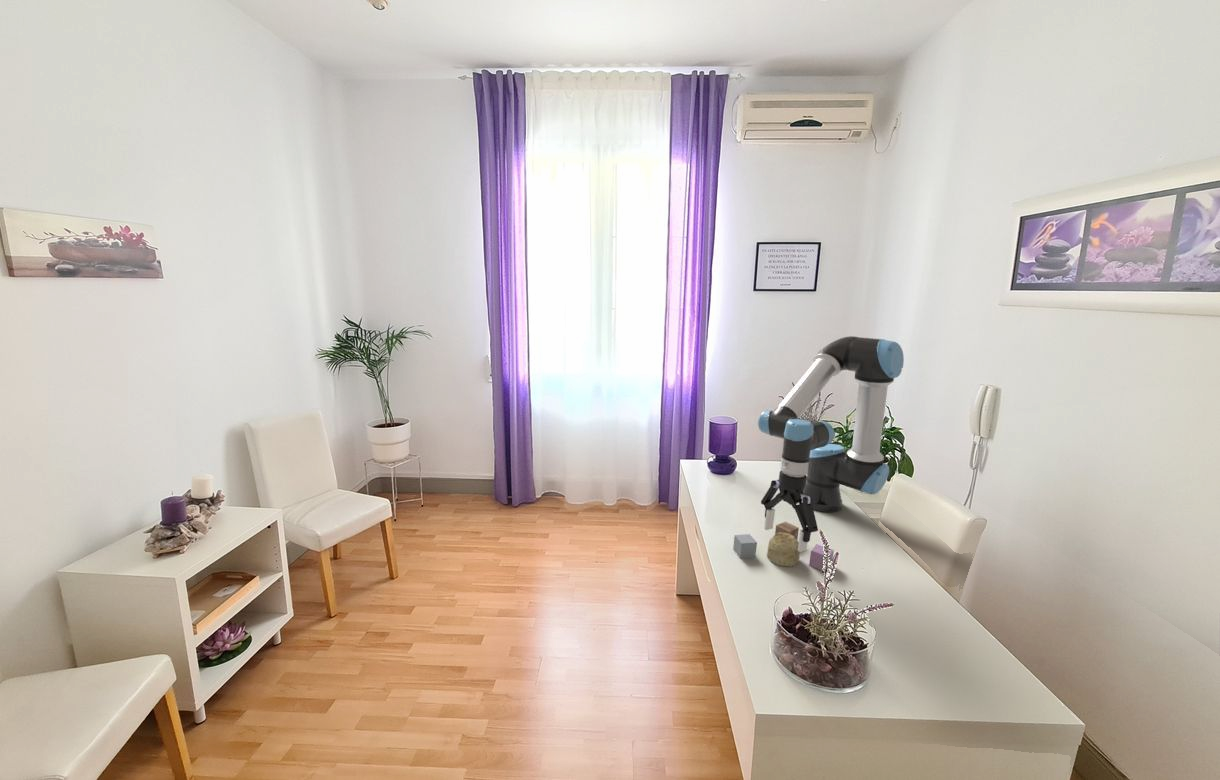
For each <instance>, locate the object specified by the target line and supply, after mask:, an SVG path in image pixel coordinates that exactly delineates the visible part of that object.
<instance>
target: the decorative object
mask: <svg viewBox="0 0 1220 780" xmlns="http://www.w3.org/2000/svg"><path fill="white" fill-rule="evenodd" d="M798 544H799V540H798V539H796V538H795V537H794V536H793V535H791V534H788V533H782V532H779V533H776V534H775V533H774V535H773V536H772V537H771V538H770V539H769V541H768V545H767V552H766V558H767V559H768V560H769V561H770V562H772V563H773V564H774V565H778V566H781V567H786V568H791V567H793V566H796V565H797V564H798V562H799V560H800V555H801V552H799V551H798ZM795 564H796V565H795Z"/></svg>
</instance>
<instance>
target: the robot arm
mask: <svg viewBox="0 0 1220 780" xmlns="http://www.w3.org/2000/svg"><path fill="white" fill-rule="evenodd" d="M812 361H813V363H812V365H811V366H810V367H809V368H808V369H807V370H806V372H805V373H804V374H803V375H802V377H801V378H800V379H799V380H798V382H797V383H796V384H795V385H794V387H792V389H791V390H790V391H789V392H788V394H787V395H786V396H785V397H784V398H783V399H782V401H781V402H780V403H779V405H778V406H776V408H775V409H774V410H773V411H772V410H764V411H763V412H761V414H760V415H759V417H758V421H757V425H758V426H757V427H758V430H760V432H761V433H763V434H766V435H769V436H771V437H776V438H779V439H783V440H782V443H783V444H782V453H781V457H780V458H781V461H780V471H779V475H778V479H774V480H771V482H770V486H769V488H768V489H767V491H766V492H765V494H764V496H763V498H762V499H761V501H760V504H761V505H763V506H764V508H765V511H764V518H765V522H764V531H765V530H766V531H769V530H773V529H774V523H775V522H774V521H775V513H776V509H775V507H776V506H777V505H778V504H779V503H780V502H782V501H783V502H786V503H787V504H789V505H790V506H791V507H792V508H793V510H794V511H795V514H796V516H797V518H798V520H799V523H800V525H801V528H802V529H800V531H799V537H798V542H799V544H798V551H799V552H800V553H801V552H804V551H807V550H808V542H810V540H811V535H812V533H815V532H818V531H819V528H818V524H817V519H816V514H815V511H818V512H823V513H825V512H826V513H835V512H839V511H840V510H841V509H842V507H843V499H842V495H841V489H840V485H842V486H844V487H846V488H847V487H848V488H850V489H853V490H855V491H858V492H861V493H864V494H868V495H876V494H878V493H879V492H880V491H882V489H883V488H884V486H885V484H886V482H887V480H888V477H889V474H890V466H889V465H888V464H887V463H884V460H885V457H884V455H883V454H882V453H881V452H880V450H881V444H882V443H881V442H882V435H883V426H884V418H885V411H886V403H887V393H888V387H889V386H890V385H891V384H892V383H894V381H895V379H896V378H898V377H899V376H900V375H901V373H902V371H903V370H902V369H904V351H903V349H902V346H901V345H900V344H899V343H898V342H896V341H892V340H887V339H882V338H874V337H873V338H871V337H870V338H869V337H859V336H854V335H853V336H851V335H850V336H844V337H840V338H838V339H836V340H834V341H831V342H830V343H828V344H827V345H826V346H824V347H823V348H822V349H820V350H819V351H818V352H817V353H816V354H815V356H814V357H813V360H812ZM842 371H850V372H851V371H852V372H854V380H855V381H856V382H857V383H858V390H857V400H856V408H855V418H854V427H853V436H852V445H851V448H849V449H847V451H846V448H845V447H844V446H843V445H840V444H835V443H832V442H833V441H834V439H835V435H836V434H835V430H834V428H833V426H832V425H831V423H829V422H827V421H825V420H816V421H811V420H806V419H802V418H801V417H802V415H804V413H805V411H806V410H808V408H809V407H810V405H811V404H812V403H813V401H814V400H816V398H817V396H818V395H819V394H820V393H821V391H823V389H824V388H825V386H826V385H827V384H828V383H829V381H830V380H831V379H832V378H833V377H836V376H837V375H839V374H840V373H841V372H842ZM778 491H779V492H778ZM777 492H778V493H777ZM776 493H777V494H776ZM774 496H775V497H774Z"/></svg>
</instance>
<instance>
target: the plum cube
mask: <svg viewBox="0 0 1220 780" xmlns="http://www.w3.org/2000/svg"><path fill="white" fill-rule="evenodd" d="M828 548H829V547H828ZM829 549H830V561H832V562H833V560H832V559H834V558H833V557H834V551H835V550H834V549H832V548H829ZM823 557H824V551H823V545H821V544H817V543H816V544H815V545H814V546H813V547H812V549H811V550H810V557H809V563H808V566H809V567H812V568H815V569H817V568H818V569H817V570H821V571H822V568H823Z"/></svg>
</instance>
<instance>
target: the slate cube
mask: <svg viewBox="0 0 1220 780" xmlns="http://www.w3.org/2000/svg"><path fill="white" fill-rule="evenodd" d="M733 537H734V538H733V545H732V546H733V548H732V549H733V551H734V552H735V554H736V553H737V554H736V555H737V556H738V558H739V559H746V558H749V557H750V558H756V555H757V546H758V541H757V540H755V539H754V538H753V536H752V535H751V533H750V534H749V533H747V534H744V533H743V534H734V536H733Z"/></svg>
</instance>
